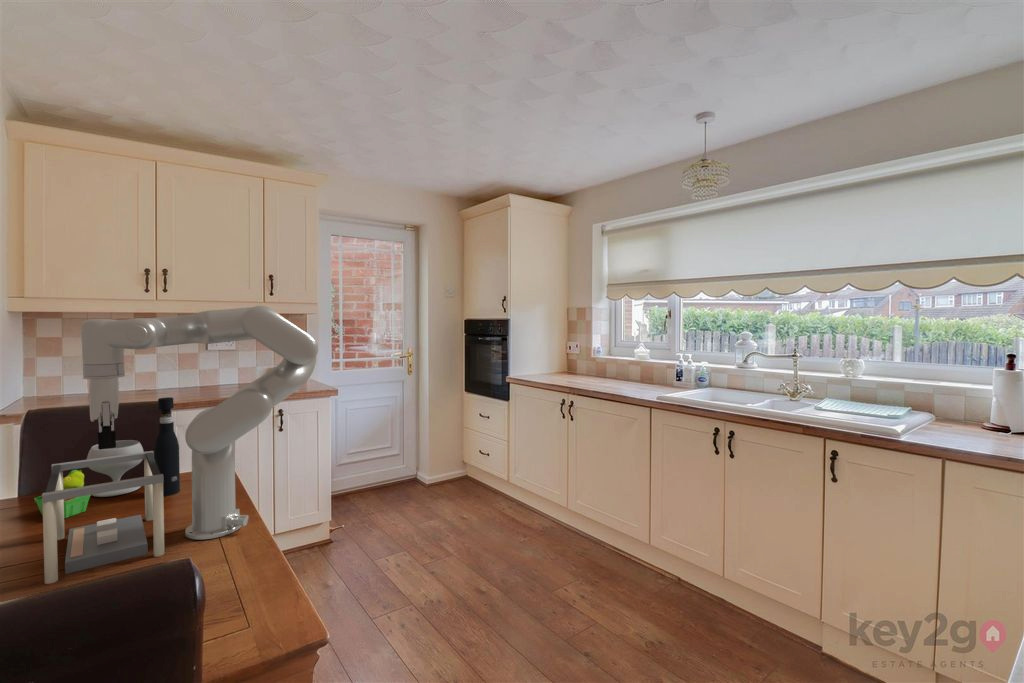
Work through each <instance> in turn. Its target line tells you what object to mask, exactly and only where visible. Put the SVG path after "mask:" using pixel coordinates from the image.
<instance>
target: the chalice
mask: <svg viewBox="0 0 1024 683" xmlns="http://www.w3.org/2000/svg"><path fill="white" fill-rule="evenodd" d="M141 452H145V451H144V448H143V446H142V444H141V442H140V441H139V440H134V439H127V440H126V439H124V440H116V447H115V448H109V449H101V450H100V449H98V443H97V444H95V445H92V446H91V448H90V450H89V451H88V454H87V457H86V460H88V459H96V458H103V457H111V456H118V455H126V454H133V453H141ZM142 461H144V459H142V460H135V461H128V462H121V463H114V464H107V465H100V466H92V467H88V468H89V470H91V471H94V472H96V473H100V474H103V475H106V476H109V477H110V478H111V480H112V482H115V481H121V480H122V479H121V478H122V476H123V475H124V474H125V473H126V472H128V471H130V470H132V469H133V468H135V467H136V466H138V465H139V464H141V463H142ZM141 487H142V486H139V487H133V488H127V489H121V490H116V491H110V492H104V493H98V494H92V495H91V496H93V497H97V498H107V497H115V496H122V495H125V494H129V493H132V492H135V491H137V490H139V489H140V488H141Z"/></svg>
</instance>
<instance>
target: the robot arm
mask: <svg viewBox="0 0 1024 683" xmlns="http://www.w3.org/2000/svg"><path fill="white" fill-rule="evenodd" d="M80 330H81V331H80V333H81V355H82V356H81V357H82V378H83V380H89V383H88V398H89V399H88V400H89V401H88V402H89V417H90V418H89V419H90V420H89V421H91V422H93V423H94V422H95V421H96V420H98V431H97V444H98V449H100V450H101V449H109V448H115V447H116V441H117V439H116V437H117V436H116V435H117V434H116V429H115V420H116V419H118V415H119V406H120V404H119V403H120V395H119V394H120V391H119V390H120V389H119V387H120V386H119V385H120V384H119V382H120V381H119V378H124V377H125V375H126V374H125V370H126V369H125V350H124V349H127V350H137V351H138V350H139V351H142V350H148V349H152V348H160V347H168V346H169V347H170V346H177V345H178V346H179V345H188V344H203V345H212V344H221V343H231V342H240V341H248V340H249V341H250V340H255V341H257V342H258V343H259V344H261V345H263V346H264V347H266V348H268V349H269V350H271V351H272V352H274V353H276V354H278V356H280V357H282V360H281V362H279V364H277V365H276V366H274V367H273V368H271V369H270V370H268V372H266V373H265V374H263V375H261V376H260V377H258V378H257V379H255V380H253V381H252V382H250V383H248V384H246V385H244V386H241V387H240V388H239V389H237V391H235V393H234V394H232V395H231V396H230V397H228V398H226V399H224V401H222V402H220V403H219V404H217V405H215V406H214V407H210V408H206V409H204V410H202V411H200V412H199V413H198V414H196V415H195V417H194V418H193V419H192V420H191V421H190V423H188V424H189V425H188V426H187V427H186V430H185V436H184V437H185V438H184V439H185V443H186V445H187V446H188V448H189V449H190V450H191V514H192V516H191V517H192V519H191V520H192V523H191V524H190V525H189V526H187V527H186V528H185V530H184V531H185V533H184V536H185V538H188V539H190V540H198V541H199V540H200V541H203V540H212V539H217V538H221V537H224V536H227V535H230V534H232V533H234V532H236V531H238V530H239V529H241V527H245V526H247V525H248V521H249V518H250V517H249V514H240V508H236V441H237V440H239V439H240V438H241V437H243V436H245V435H246V434H247V433H249V432H251V431H252V430H253V429H255V428H256V427H258V426H259V425H260V424H262V423H263V422H264V421H265V420H266V419H268V417H269V415H270V414H271V412H272V409H273V408H275V406H277V405H278V404H280V403H281V402H283V401H284V400H286V399H287V398H288V397H290V396H291V395H292V394H294V393H295V392H297V391H298V390H300V389H301V388H302V387H303V386H304V385H305V384H306V383H307V382H308V380H309V379H310V378H311V376H312V375H313V373H314V370H315V366H316V364H317V355H318V351H319V344H318V342H317V340H316V338H314V336H312V335H311V334H309V333H308V332H307V331H305V330H303V329H301V328H300V327H299V326H297V325H296V324H294V323H293V322H291V321H290V320H289V319H287V318H285V317H284V316H282V315H281V314H280V313H278V312H277V311H275V310H274V309H273V308H272V307H269V306H267V305H254V306H249V307H238V308H237V307H236V308H225V309H215V310H214V309H212V310H204V311H199V312H196V313H193V314H187V315H177V316H166V317H165V316H164V317H153V318H152V317H151V318H147V317H145V318H144V317H143V318H140V317H139V318H138V317H137V318H136V317H135V318H128V319H114V318H113V319H110V318H109V319H108V318H107V319H106V318H101V319H97V318H95V319H94V318H93V319H86V320H84V321H83V322H82V323H81V326H80Z"/></svg>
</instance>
